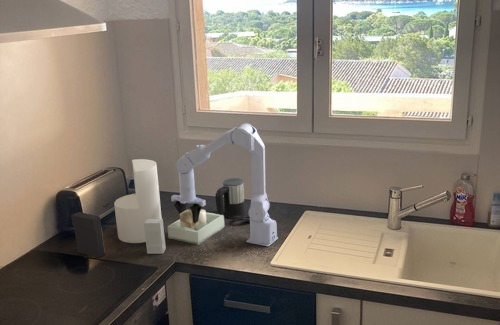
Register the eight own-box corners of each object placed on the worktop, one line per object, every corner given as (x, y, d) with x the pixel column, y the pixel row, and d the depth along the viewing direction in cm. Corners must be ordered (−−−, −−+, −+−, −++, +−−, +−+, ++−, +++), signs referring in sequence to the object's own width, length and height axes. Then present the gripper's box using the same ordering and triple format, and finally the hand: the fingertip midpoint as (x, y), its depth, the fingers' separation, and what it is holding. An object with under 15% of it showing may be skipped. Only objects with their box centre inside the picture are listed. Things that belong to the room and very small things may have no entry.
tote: (224, 227, 214) (223, 215, 213) (198, 244, 200) (197, 232, 198) (195, 221, 221) (194, 210, 220) (168, 238, 206) (167, 226, 205)
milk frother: (230, 209, 233) (228, 176, 229) (263, 214, 226) (262, 180, 222) (213, 221, 221) (211, 187, 217) (247, 226, 214) (246, 191, 210)
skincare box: (166, 248, 197) (163, 218, 194) (163, 254, 193) (160, 223, 190) (149, 248, 198) (146, 218, 195) (146, 254, 194) (143, 223, 191)
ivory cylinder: (209, 226, 214) (208, 210, 212) (203, 231, 209) (202, 214, 207) (198, 225, 216) (196, 208, 214) (192, 229, 211) (190, 213, 209)
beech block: (198, 223, 206) (198, 211, 205) (191, 228, 202) (190, 215, 201) (188, 221, 209) (187, 209, 207) (180, 226, 205) (179, 213, 203)
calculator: (106, 254, 195) (101, 215, 191) (97, 258, 192) (92, 219, 188) (85, 248, 201) (79, 210, 197) (76, 253, 197) (70, 214, 193)
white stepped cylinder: (160, 222, 222) (154, 157, 214) (165, 239, 206) (158, 169, 198) (117, 228, 218) (109, 162, 210) (118, 245, 202) (110, 174, 194)
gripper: (165, 187, 202) (168, 221, 205) (197, 193, 195) (199, 227, 198) (176, 182, 207) (179, 215, 211) (207, 187, 200) (210, 221, 204)
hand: (189, 220), depth 205 cm, fingers closed on beech block, 5 cm apart
